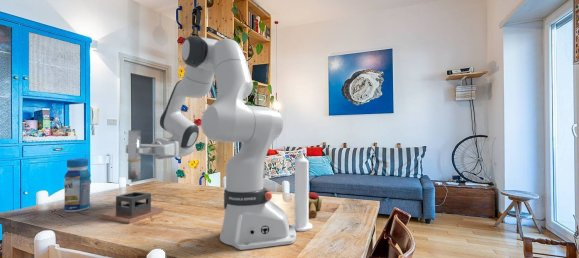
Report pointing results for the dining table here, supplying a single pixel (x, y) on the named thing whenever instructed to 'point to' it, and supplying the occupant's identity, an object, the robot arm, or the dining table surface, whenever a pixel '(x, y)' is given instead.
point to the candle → (301, 194)
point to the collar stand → (132, 208)
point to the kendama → (314, 204)
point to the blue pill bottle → (77, 186)
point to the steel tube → (134, 154)
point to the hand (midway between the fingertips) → (132, 150)
